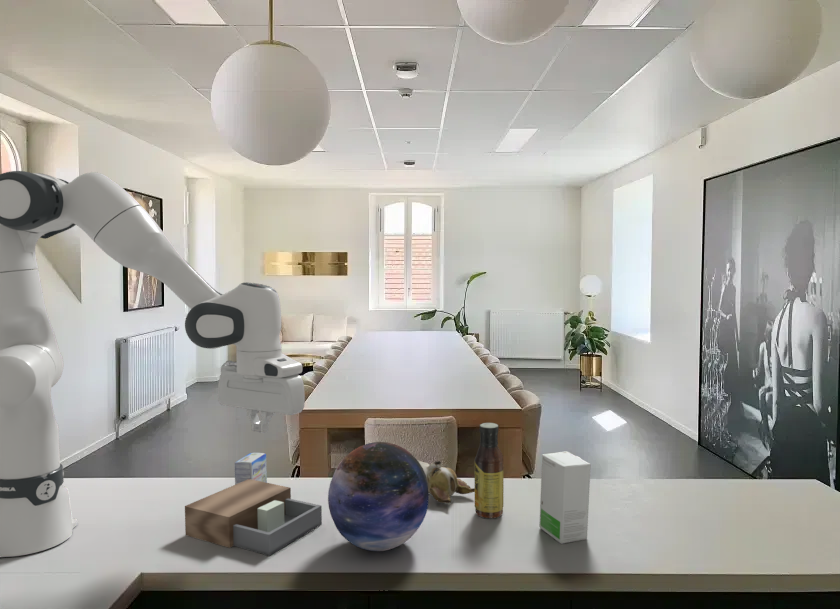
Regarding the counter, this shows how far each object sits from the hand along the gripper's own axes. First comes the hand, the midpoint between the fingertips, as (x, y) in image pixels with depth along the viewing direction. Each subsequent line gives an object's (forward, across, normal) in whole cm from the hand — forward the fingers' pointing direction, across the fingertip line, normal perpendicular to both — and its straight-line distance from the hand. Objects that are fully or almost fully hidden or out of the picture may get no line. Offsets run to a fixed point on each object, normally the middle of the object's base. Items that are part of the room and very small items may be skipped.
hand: (260, 431), depth 126 cm
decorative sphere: (+21, +25, +5) cm, 33 cm away
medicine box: (+21, -17, +15) cm, 31 cm away
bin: (+20, +5, 0) cm, 21 cm away
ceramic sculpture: (+21, +24, +34) cm, 46 cm away
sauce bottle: (+20, +38, +29) cm, 52 cm away
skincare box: (+20, +55, +27) cm, 65 cm away
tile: (+17, +1, 0) cm, 17 cm away
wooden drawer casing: (+20, -6, 0) cm, 21 cm away
